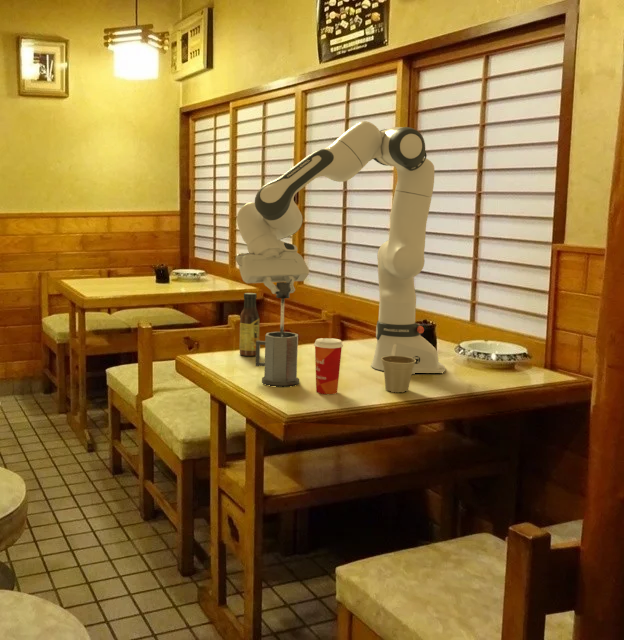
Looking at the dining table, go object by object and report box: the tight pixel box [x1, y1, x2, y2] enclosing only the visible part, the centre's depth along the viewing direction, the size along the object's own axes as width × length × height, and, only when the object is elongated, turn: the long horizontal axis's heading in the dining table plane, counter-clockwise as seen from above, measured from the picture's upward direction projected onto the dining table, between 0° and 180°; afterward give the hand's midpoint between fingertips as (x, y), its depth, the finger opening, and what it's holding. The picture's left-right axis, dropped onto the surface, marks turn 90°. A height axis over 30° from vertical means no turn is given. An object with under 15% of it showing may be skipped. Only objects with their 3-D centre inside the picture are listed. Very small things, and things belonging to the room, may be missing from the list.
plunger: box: [275, 282, 291, 337], centre depth 215 cm, size 6×6×18 cm
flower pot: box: [381, 356, 416, 393], centre depth 214 cm, size 9×9×9 cm
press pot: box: [255, 331, 300, 388], centre depth 217 cm, size 12×10×14 cm
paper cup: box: [313, 337, 344, 395], centre depth 209 cm, size 8×8×14 cm
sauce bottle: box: [238, 292, 261, 357], centre depth 252 cm, size 7×6×20 cm
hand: (284, 292), depth 214 cm, fingers closed on plunger, 4 cm apart
